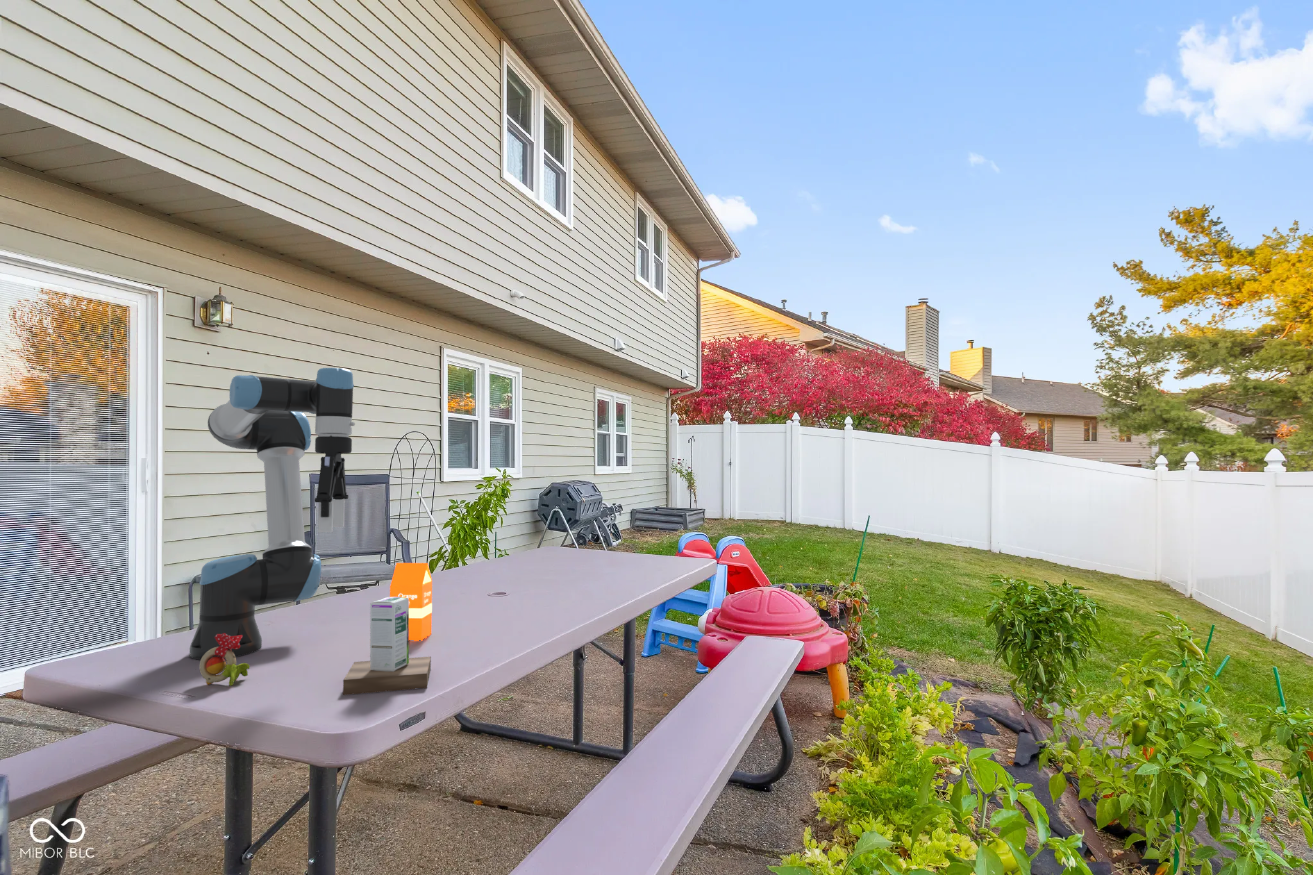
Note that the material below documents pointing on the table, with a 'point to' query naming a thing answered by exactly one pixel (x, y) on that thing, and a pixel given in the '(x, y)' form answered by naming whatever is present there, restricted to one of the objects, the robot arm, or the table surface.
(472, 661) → the table surface
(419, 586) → the orange juice
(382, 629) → the syrup box
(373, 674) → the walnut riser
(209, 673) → the bird rattle
